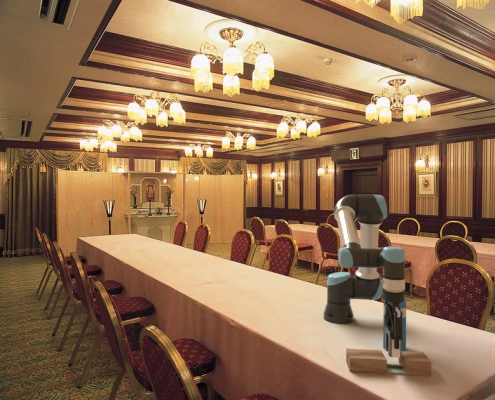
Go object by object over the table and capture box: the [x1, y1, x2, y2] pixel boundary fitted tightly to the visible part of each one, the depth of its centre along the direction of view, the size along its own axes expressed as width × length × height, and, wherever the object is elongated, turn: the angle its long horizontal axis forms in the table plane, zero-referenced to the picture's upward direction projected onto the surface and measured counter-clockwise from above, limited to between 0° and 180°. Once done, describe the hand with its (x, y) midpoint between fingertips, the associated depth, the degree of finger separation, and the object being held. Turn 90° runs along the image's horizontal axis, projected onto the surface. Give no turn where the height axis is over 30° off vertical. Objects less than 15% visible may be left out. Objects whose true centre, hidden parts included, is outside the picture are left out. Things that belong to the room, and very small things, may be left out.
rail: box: [345, 348, 433, 377], centre depth 132 cm, size 8×28×5 cm, turn 84°
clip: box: [384, 325, 402, 358], centre depth 132 cm, size 6×4×9 cm, turn 174°
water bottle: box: [382, 300, 407, 351], centre depth 150 cm, size 9×9×25 cm
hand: (392, 352), depth 132 cm, fingers closed on clip, 6 cm apart
